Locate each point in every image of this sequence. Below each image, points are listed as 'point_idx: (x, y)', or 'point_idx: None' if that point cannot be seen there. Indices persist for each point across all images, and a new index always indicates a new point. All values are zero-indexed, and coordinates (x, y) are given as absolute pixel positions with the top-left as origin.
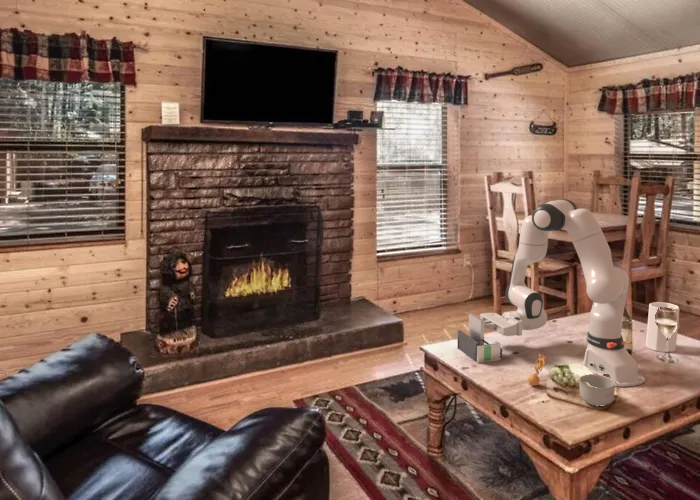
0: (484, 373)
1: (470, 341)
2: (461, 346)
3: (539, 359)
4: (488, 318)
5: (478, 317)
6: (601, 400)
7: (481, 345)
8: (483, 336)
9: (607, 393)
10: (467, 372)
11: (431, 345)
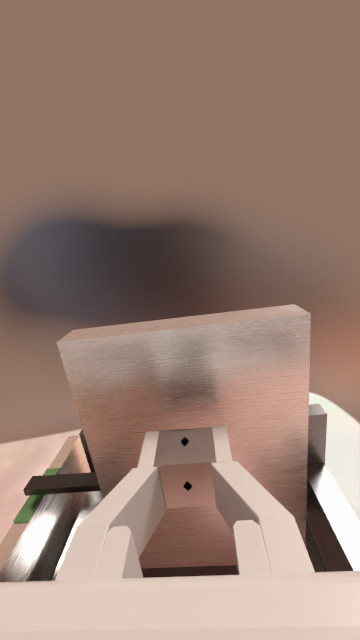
0: (5, 487)
1: None
2: None
3: None
4: (343, 582)
5: (157, 328)
6: None
7: (65, 458)
8: (96, 468)
9: None
10: (64, 438)
11: (334, 408)
